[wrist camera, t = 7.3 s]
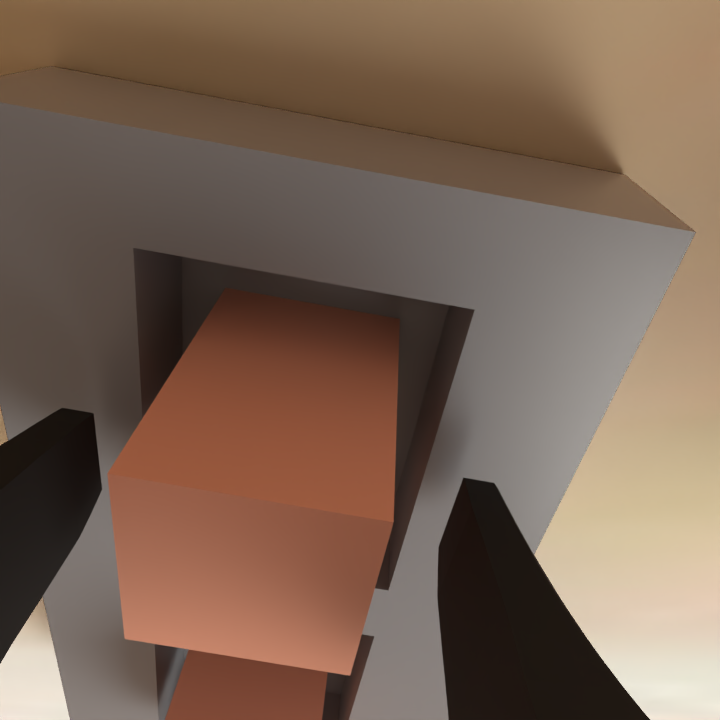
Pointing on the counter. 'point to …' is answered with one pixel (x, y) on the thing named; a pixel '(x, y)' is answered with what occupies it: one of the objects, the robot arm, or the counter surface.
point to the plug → (262, 485)
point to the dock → (319, 286)
